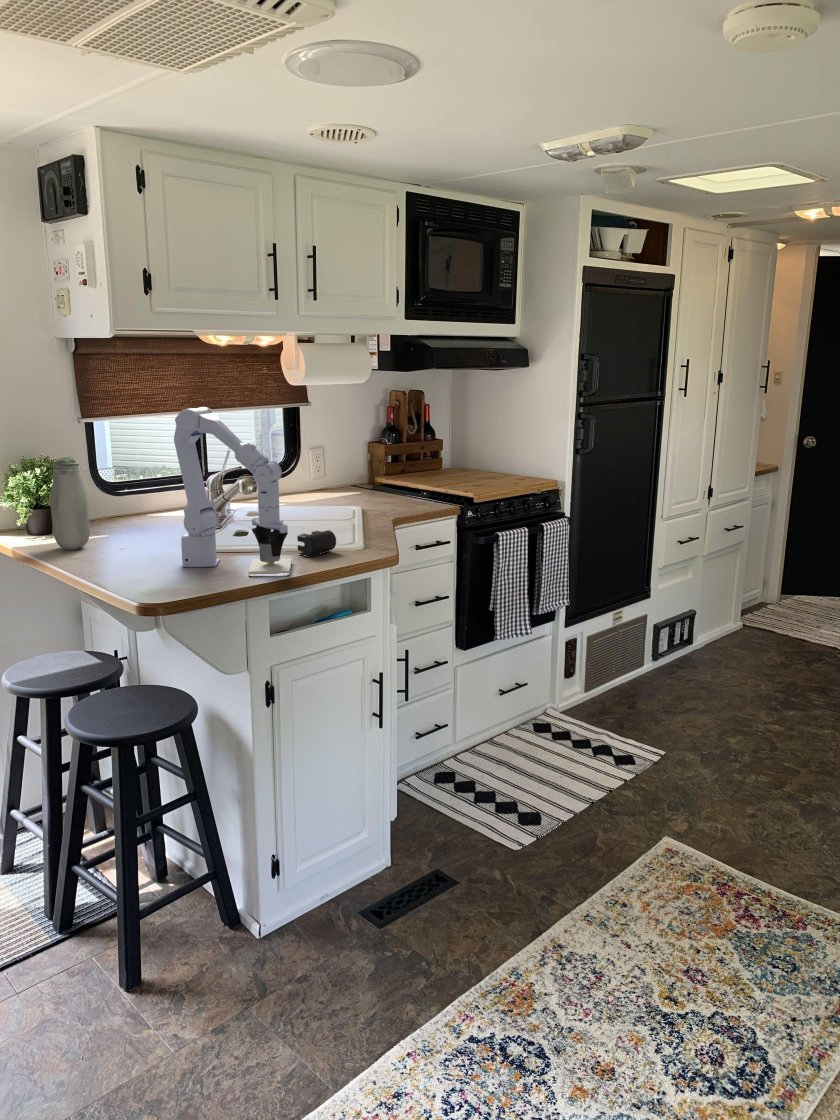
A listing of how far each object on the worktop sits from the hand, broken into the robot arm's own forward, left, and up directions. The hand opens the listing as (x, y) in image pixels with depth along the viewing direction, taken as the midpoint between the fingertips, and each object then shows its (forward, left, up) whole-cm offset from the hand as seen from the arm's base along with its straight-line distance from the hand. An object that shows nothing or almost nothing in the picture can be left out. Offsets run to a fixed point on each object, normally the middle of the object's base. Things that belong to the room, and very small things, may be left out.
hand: (270, 554), depth 236 cm
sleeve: (0, 0, -2) cm, 2 cm away
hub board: (0, 0, -4) cm, 4 cm away
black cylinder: (+12, +18, -5) cm, 22 cm away
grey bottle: (-62, +29, -5) cm, 68 cm away
